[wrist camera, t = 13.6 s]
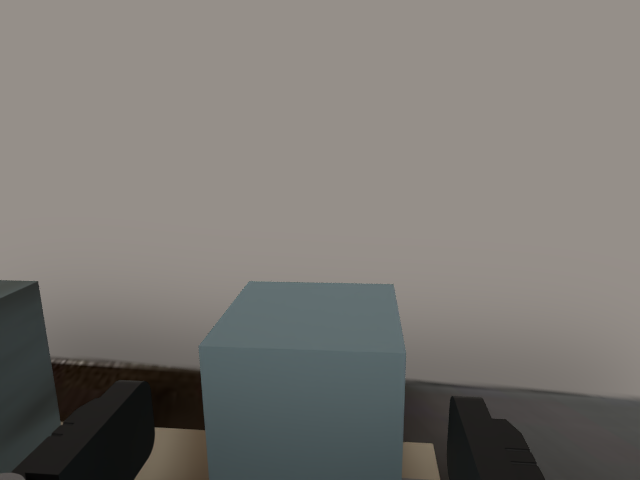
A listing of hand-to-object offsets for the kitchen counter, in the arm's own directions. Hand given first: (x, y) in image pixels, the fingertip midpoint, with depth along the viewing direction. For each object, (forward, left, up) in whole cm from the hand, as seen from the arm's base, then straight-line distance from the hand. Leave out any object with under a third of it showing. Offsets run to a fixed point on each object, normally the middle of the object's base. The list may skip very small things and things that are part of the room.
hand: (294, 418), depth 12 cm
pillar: (0, +2, -8) cm, 8 cm away
